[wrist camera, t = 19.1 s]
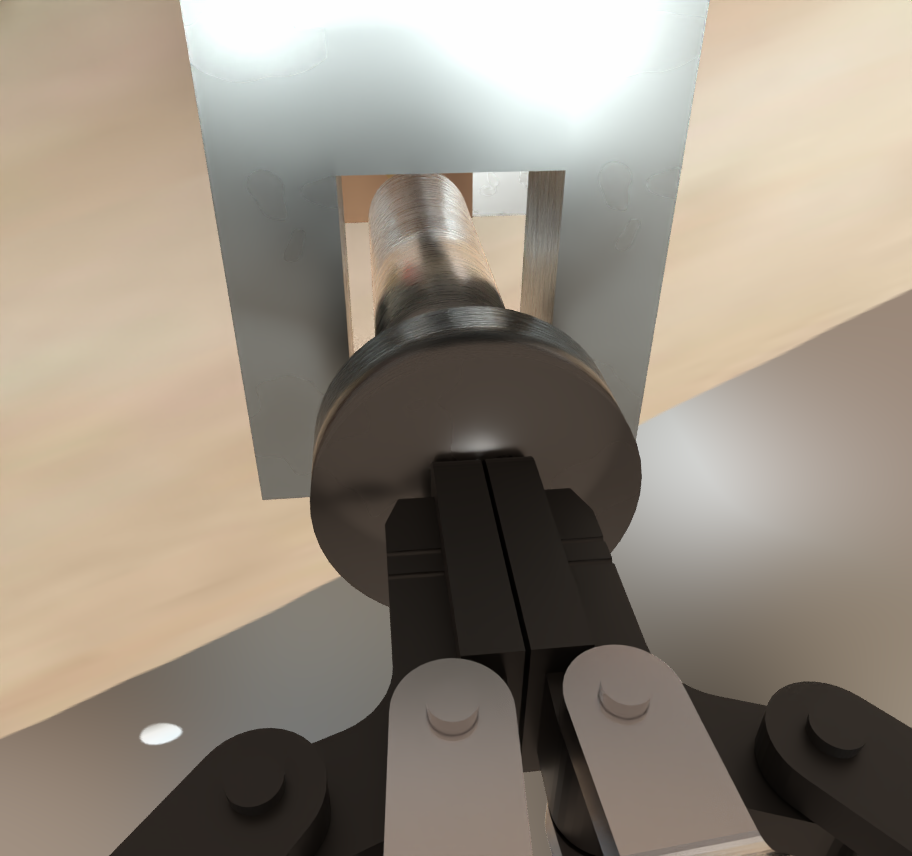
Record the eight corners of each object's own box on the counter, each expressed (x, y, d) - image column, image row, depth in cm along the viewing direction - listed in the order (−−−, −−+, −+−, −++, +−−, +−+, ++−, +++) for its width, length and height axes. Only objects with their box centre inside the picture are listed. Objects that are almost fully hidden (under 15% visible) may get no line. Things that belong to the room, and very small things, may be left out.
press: (258, 209, 41) (119, 692, 16) (207, -174, 32) (-279, -406, 7) (524, 202, 42) (772, 637, 17) (546, -168, 33) (1112, -344, 9)
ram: (335, 303, 23) (325, 630, 13) (320, 128, 21) (292, 367, 10) (501, 297, 24) (619, 607, 13) (509, 125, 21) (666, 349, 11)
